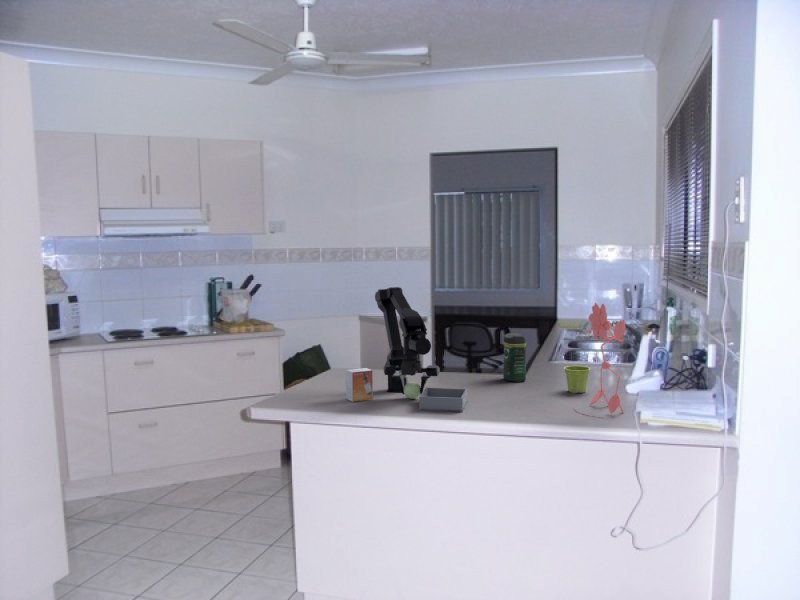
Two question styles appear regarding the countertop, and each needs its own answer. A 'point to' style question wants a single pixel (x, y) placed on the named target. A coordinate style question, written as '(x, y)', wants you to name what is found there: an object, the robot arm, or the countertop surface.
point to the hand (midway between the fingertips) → (412, 394)
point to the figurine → (599, 328)
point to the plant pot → (577, 378)
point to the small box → (359, 384)
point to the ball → (412, 390)
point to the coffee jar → (514, 357)
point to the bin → (443, 399)
